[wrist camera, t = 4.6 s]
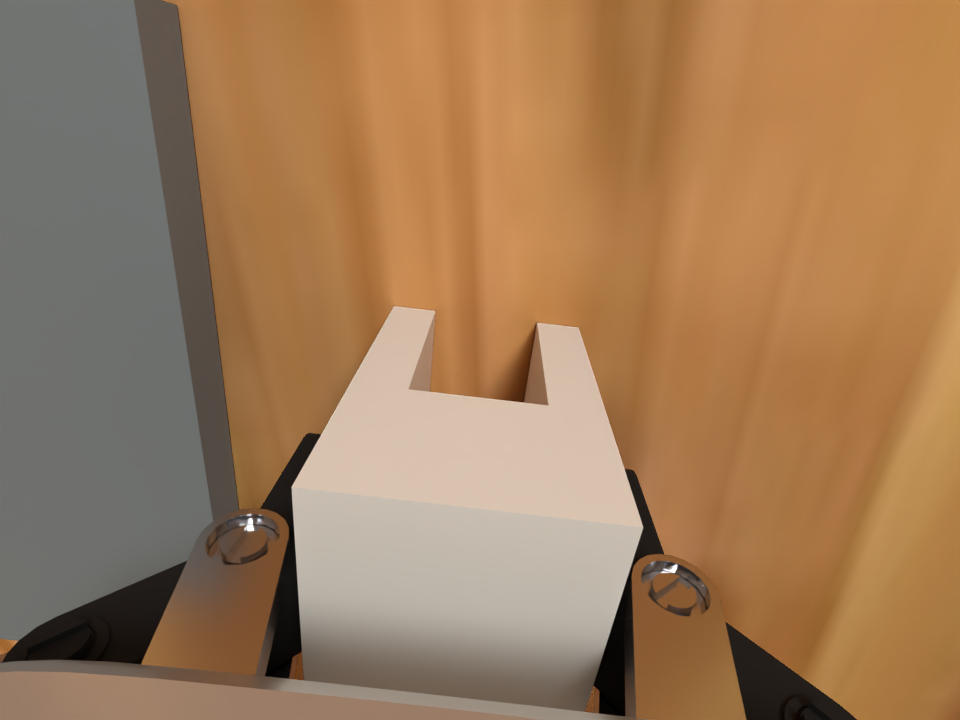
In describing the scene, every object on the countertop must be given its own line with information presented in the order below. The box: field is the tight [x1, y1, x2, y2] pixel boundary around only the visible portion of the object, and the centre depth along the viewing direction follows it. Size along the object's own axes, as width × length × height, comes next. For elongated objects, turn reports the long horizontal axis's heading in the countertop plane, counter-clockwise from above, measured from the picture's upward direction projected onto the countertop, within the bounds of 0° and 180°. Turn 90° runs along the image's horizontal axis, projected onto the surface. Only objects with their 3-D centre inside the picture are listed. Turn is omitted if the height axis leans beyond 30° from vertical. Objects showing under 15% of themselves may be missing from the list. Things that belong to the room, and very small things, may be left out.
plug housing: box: [291, 306, 643, 712], centre depth 10 cm, size 4×6×6 cm, turn 174°
